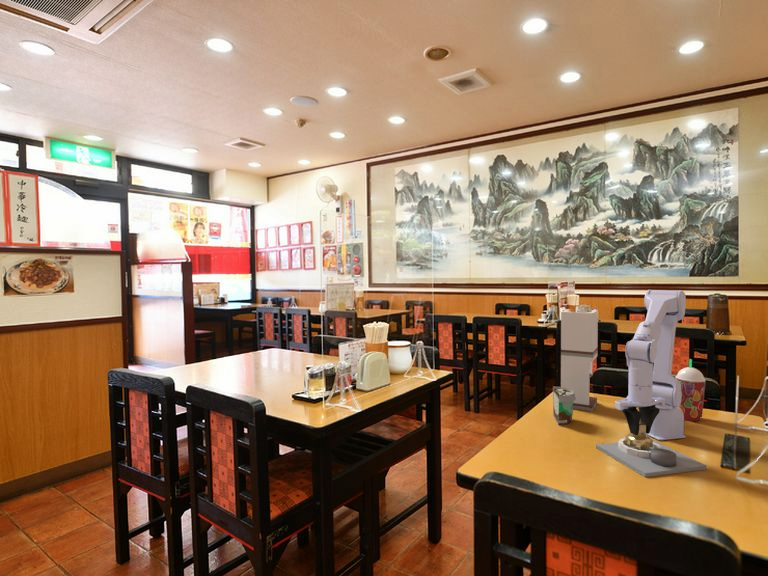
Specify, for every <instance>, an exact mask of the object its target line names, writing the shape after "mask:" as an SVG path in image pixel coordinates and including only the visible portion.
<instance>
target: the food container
mask: <svg viewBox="0 0 768 576" xmlns="http://www.w3.org/2000/svg"><path fill="white" fill-rule="evenodd" d="M574 400H576V397H575V394H574V392H573V391H572V390H570V389H567V388H563V387H561V386H552V406H553V407H552V408H553V414H552V415H553V418H554V419H555V421H556V424H557V425H558V426H568V425H570V424H572V423H573V422H572V421H573V412H574V410H573V401H574Z"/></svg>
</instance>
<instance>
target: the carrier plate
mask: <svg viewBox="0 0 768 576" xmlns="http://www.w3.org/2000/svg"><path fill="white" fill-rule="evenodd" d="M652 440H653V447H650V449H638V448H636V447H633V446H629V445H627V442H625V437H623V438H620V439H618V441H616V442H607V443H599V444H596V445H595V448H596V449H597V450H598V451H600V452H602V453H604V454H606V455H607V456H609V457H610V456H611V458H612V459H614V460H615V459H616V461H618V462H619V463H620V462H621V463H620V464H622V465H623V466H625V465H626V466H625V467H627V468H629V469H630V470H632V471H633V472H636V473H637V474H639V475H640V476H643V478H648V477H657V476H664V475H672V474H679V473H680V474H681V473H688V472H694V471H695V472H697V471H704V470H707V469H708V468H707V467H708V466H707V465H706V464H704V463H703V462H701V461H698V460H696V459H694V458H692V457H690V456H688V455H685V454H684V453H681V452H679V451H678V450H676V449H673V448H671V447H669V446H668V445H667V446H666V445H664V444H662V443H660V442H658V441H656V440H654V439H652Z"/></svg>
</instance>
